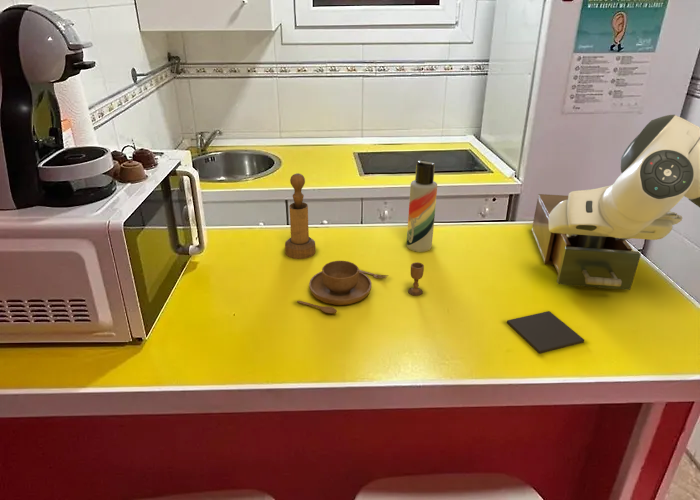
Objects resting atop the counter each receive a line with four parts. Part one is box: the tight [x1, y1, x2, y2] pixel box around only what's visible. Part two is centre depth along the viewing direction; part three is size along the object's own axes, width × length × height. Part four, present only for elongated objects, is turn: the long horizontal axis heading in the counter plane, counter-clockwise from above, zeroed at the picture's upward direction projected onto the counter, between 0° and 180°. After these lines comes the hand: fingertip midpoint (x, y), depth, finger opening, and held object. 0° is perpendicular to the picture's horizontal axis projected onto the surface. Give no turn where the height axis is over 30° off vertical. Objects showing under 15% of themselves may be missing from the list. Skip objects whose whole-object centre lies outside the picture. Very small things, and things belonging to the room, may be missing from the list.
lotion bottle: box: [406, 159, 438, 253], centre depth 112 cm, size 6×6×20 cm
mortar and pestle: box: [284, 172, 317, 260], centre depth 110 cm, size 7×6×18 cm
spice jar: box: [577, 235, 606, 249], centre depth 104 cm, size 5×5×11 cm
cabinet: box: [531, 193, 569, 266], centre depth 114 cm, size 17×15×10 cm
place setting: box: [296, 260, 425, 314], centre depth 97 cm, size 18×20×6 cm
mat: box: [506, 310, 585, 355], centre depth 89 cm, size 9×9×1 cm
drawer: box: [550, 233, 642, 291], centre depth 104 cm, size 20×13×8 cm
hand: (594, 235), depth 102 cm, fingers closed on drawer, 8 cm apart
